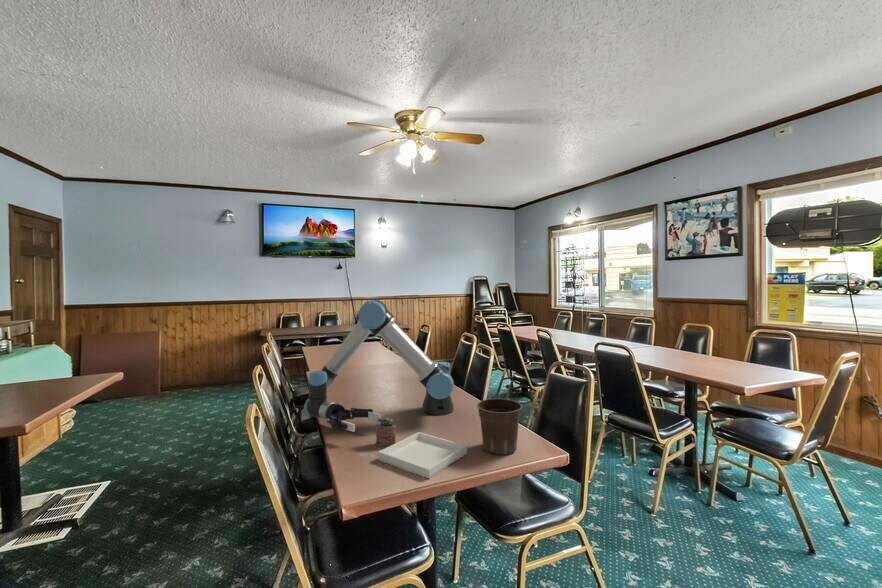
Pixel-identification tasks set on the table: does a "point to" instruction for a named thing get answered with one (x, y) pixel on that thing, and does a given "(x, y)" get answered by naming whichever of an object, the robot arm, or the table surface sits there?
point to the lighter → (385, 432)
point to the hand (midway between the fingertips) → (367, 422)
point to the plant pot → (499, 425)
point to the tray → (422, 454)
